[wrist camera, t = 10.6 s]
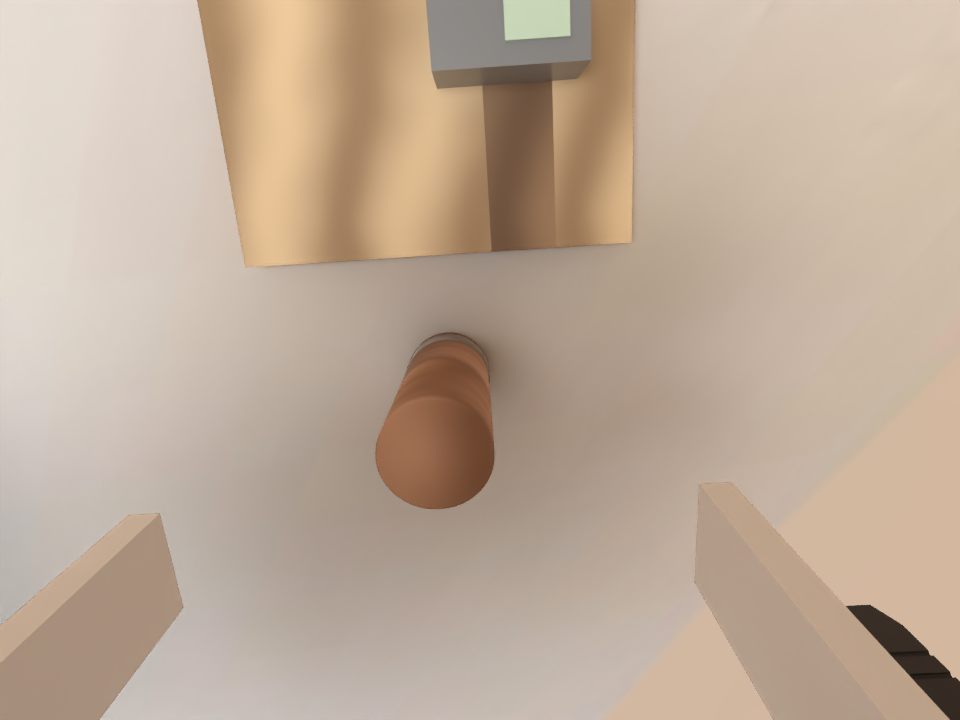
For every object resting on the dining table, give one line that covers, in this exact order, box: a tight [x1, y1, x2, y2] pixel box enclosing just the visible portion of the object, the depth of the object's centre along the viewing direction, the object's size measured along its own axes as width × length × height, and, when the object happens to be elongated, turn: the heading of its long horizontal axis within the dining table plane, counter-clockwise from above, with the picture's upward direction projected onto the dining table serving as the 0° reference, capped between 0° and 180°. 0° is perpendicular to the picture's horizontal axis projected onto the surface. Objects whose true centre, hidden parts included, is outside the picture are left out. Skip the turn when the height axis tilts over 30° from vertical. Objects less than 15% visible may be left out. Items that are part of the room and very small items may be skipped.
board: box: [197, 0, 635, 268], centre depth 23 cm, size 18×16×1 cm
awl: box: [375, 333, 494, 509], centre depth 23 cm, size 4×4×10 cm
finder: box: [426, 0, 591, 89], centre depth 21 cm, size 6×4×3 cm, turn 94°
